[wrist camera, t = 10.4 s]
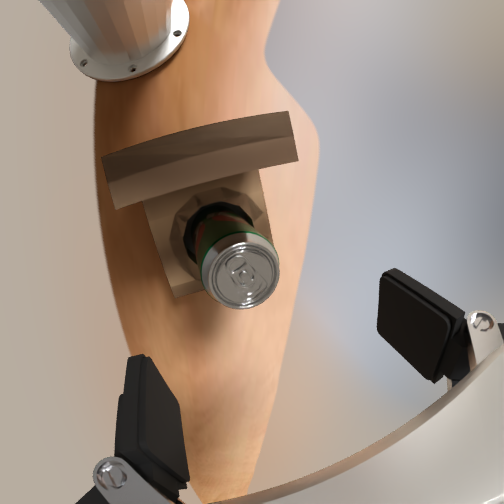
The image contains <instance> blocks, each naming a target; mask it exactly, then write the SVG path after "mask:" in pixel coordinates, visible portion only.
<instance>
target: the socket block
mask: <svg viewBox="0 0 504 504" xmlns="http://www.w3.org/2000/svg"><path fill="white" fill-rule="evenodd" d="M101 159H102V163H103V167H104V171H105V175H106V179H107V182H108V186H109V190H110V193H111V197H112V200H113V204H114V207H115V210H117V209H119V208H122V207H125V206H128V205H131V204H134V203H137V202H140V201H142V203H143V206H144V210H145V213H146V216H147V220H148V223H149V226H150V229H151V232H152V235H153V239H154V242H155V245H156V248H157V251H158V253H159V256H160V259H161V262H162V265H163V268H164V271H165V273H166V276H167V279H168V282H169V284H170V287H171V290H172V292H173V295H174V297H175V298H178V297H181V296H185V295H188V294H191V293H195V292H198V291H202V290H205V289H204V287H203V284H202V281H201V277H200V273H199V269H198V265H197V260H196V256H195V251H194V247H193V242H192V237H191V226H192V223H193V220H194V218H195V217H196V216H197V214H198V213H199V212H201V211H202V210H203V209H205V208H207V207H210V206H214V205H220V206H225V207H228V208H230V209H231V210H233V211H234V212H235V213H237V214H238V215H239V216H240V217H241V218H243V219H244V220H245V221H246V222H247V223H249V224H250V225H251V226H252V227H253V228H254V229H256V230H257V231H258V232H259V233H260V234H262V235H263V236H264V237H265V238H266V239H267V240H268V241H269V242H271V244H272V245H273V239H272V234H271V229H270V224H269V219H268V214H267V209H266V204H265V199H264V194H263V189H262V185H261V180H260V175H259V170H258V169H262V168H266V167H271V166H276V165H281V164H285V163H291V162H296V161H298V156H297V150H296V145H295V140H294V135H293V130H292V126H291V121H290V116H289V112H288V111H284V112H276V113H269V114H262V115H256V116H250V117H244V118H238V119H233V120H228V121H223V122H218V123H213V124H209V125H205V126H200V127H196V128H192V129H188V130H184V131H180V132H177V133H173V134H169V135H166V136H162V137H159V138H156V139H152V140H149V141H146V142H143V143H140V144H137V145H134V146H131V147H128V148H125V149H122V150H119V151H116V152H114V153H111V154H108V155H106V156H103V157H101ZM273 246H274V245H273Z"/></svg>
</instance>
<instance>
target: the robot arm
mask: <svg viewBox="0 0 504 504" xmlns="http://www.w3.org/2000/svg"><path fill="white" fill-rule="evenodd" d="M39 1H40V2H41V3H42V4H43V6H44V7H45V8H46V9H47V10H48V11H49V12H50V13H51V14H52V16H53V17H54V18H55V19H56V20H57V21H58V23H59V24H60V25H61V26H62V27H63V28H64V29H65V30H66V32H67V33H68V34H69V35H70V36H71V39H70V47H69V49H70V55H71V58H72V61H73V63H74V65H75V66H76V67H77V68H78V69H79V70H80V71H81V72H82V73H83V74H85V75H86V76H89V77H90V78H92V79H95V80H100V81H107V82H116V81H124V80H129V79H132V78H136V77H139V76H141V75H144V74H146V73H148V72H150V71H152V70H154V69H155V68H157V67H159V66H160V65H162V64H163V63H164V62H165V61H167V60H168V59H169V58H170V57H171V56H172V55H173V54H174V53H175V52H176V51H177V50H178V49H179V47H180V46H181V44H182V43H183V41H184V39H185V37H186V34H187V32H188V26H189V11H188V7H187V5H186V3H185V2H184V0H39ZM175 36H179V37H175ZM86 64H87V65H86ZM85 65H86V66H85ZM133 69H136V71H134V72H131V71H132V70H133ZM379 285H380V286H379V305H378V318H377V331H378V333H379V334H380V335H381V336H382V337H383V338H384V339H385V340H386V341H387V342H388V343H389V344H390V345H391V346H392V347H393V348H394V349H395V350H396V351H398V353H399V354H401V355H402V356H403V357H404V358H405V359H406V360H407V361H408V362H409V363H410V364H411V365H412V366H413V367H414V368H415V369H416V370H417V371H418V372H419V373H420V374H421V375H422V376H423V377H424V378H426V379H427V380H431V381H432V382H433V383H434V384H435V383H436V382H437V381H439V380H440V379H441V378H442V377H443V375H445V376H446V377H447V389H448V392H447V393H446V394H444V395H443V396H442V397H441V398H440V399H438V400H437V401H436V402H434V403H433V404H432V405H431V406H429V407H428V408H427V409H425V410H424V411H423V412H421V413H420V414H419V415H417V416H416V417H415V418H413V419H411V420H410V421H409V422H407V423H406V424H404V425H403V426H401V427H400V428H398V429H397V430H395V431H394V432H392V433H390V434H389V435H387V436H386V437H384V438H382V439H381V440H379V441H377V442H375V443H374V444H372V445H370V446H369V447H367V448H365V449H363V450H361V451H359V452H357V453H355V454H353V455H352V456H350V457H348V458H346V459H344V460H342V461H340V462H337V463H335V464H333V465H331V466H329V467H326V468H324V469H322V470H319V471H317V472H315V473H312V474H310V475H307V476H305V477H302V478H299V479H297V480H294V481H291V482H288V483H286V484H283V485H280V486H277V487H273V488H270V489H267V490H263V491H260V492H256V493H253V494H249V495H245V496H241V497H237V498H233V499H229V500H224V501H219V502H214V503H209V504H504V323H497V321H496V319H495V318H494V317H493V316H492V315H491V314H490V313H488V312H485V311H481V310H477V311H473V312H471V313H470V314H469V315H468V317H467V320H466V319H465V318H464V315H465V312H464V311H463V310H461V309H460V308H458V307H457V306H455V305H454V304H452V303H451V302H449V301H448V300H446V299H445V298H443V297H441V296H440V295H438V294H437V293H435V292H434V291H432V290H431V289H429V288H427V287H426V286H424V285H423V284H421V283H420V282H418V281H416V280H415V279H413V278H411V277H410V276H408V275H406V274H405V273H403V272H402V271H400V270H398V269H396V268H393V269H391V270H388V271H386V272H384V273H383V274H382V277H381V278H380V284H379ZM93 481H94V483H95V486H94V487H93V488H92V489H91V490H90V491H89V492H87V493H86V494H85V495H84V496H83V497H82V498H81V499H80V500H79V501H78V502H77V503H76V504H185V503H184V502H183V501H181V500H180V499H179V498H178V497H179V491H178V490H180V489H187V484H186V482H189V481H190V476H189V470H188V464H187V458H186V452H185V445H184V438H183V430H182V422H181V414H180V406H179V403H178V401H177V399H176V398H175V396H174V395H173V393H172V392H171V390H170V389H169V387H168V385H167V384H166V382H165V381H164V379H163V378H162V376H161V374H160V373H159V371H158V369H157V368H156V366H155V364H154V363H153V361H152V359H151V358H150V357H145V355H144V354H140V355H136V356H131V357H129V358H128V361H127V368H126V376H125V384H124V393H123V394H121V395H120V396H119V401H118V411H117V421H116V434H115V454H114V457H107V458H104V459H103V460H101V461H100V462H99V463H98V464H97V465H96V466H95V469H94V471H93Z"/></svg>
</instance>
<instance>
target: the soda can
mask: <svg viewBox="0 0 504 504" xmlns="http://www.w3.org/2000/svg"><path fill="white" fill-rule="evenodd" d="M191 237H192V242H193V247H194V251H195V256H196V260H197V265H198V269H199V273H200V277H201V281H202V284H203V287H204V289H205V290H206V292H207V293H208V294H209V295H210V296H211V297H212V298H213V299H214V300H216V301H217V302H219V303H221V304H223V305H225V306H227V307H229V308H232V309H249V308H252V307H255V306H257V305H259V304H261V303H263V302H264V301H265V300H266V299H268V298H269V297H270V295H271V294H272V293H273V291H274V290H275V288H276V286H277V283H278V280H279V258H278V255H277V252H276V250H275V248H274V246H273V245H272V244H271V242H269V241H268V240H267V239H266V238H265V237H264V236H263V235H262V234H260V233H259V232H258V231H257V230H256V229H254V228H253V227H252V226H251V225H250V224H249V223H247V222H246V221H245V220H244V219H243V218H241V217H240V216H239V215H238V214H237V213H235V212H234V211H233V210H231V209H230V208H228V207H225V206H220V205H214V206H210V207H207V208H205V209H203V210H202V211H201V212H199V213H198V214H197V216H196V217H195V218H194V220H193V223H192V226H191Z"/></svg>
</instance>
